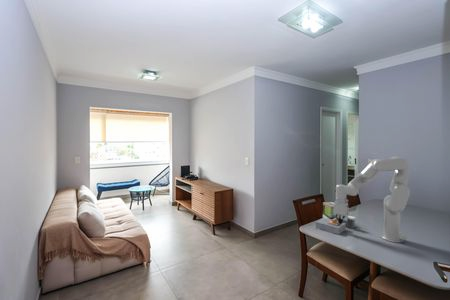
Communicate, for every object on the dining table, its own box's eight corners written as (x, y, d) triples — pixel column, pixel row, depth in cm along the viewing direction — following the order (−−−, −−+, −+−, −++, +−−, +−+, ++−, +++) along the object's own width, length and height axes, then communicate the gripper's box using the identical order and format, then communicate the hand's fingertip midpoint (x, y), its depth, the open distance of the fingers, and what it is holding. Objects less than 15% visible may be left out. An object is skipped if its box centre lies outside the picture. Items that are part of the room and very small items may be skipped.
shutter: (340, 223, 178) (340, 219, 178) (337, 225, 173) (337, 221, 173) (331, 220, 183) (331, 216, 183) (328, 223, 178) (328, 219, 178)
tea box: (341, 223, 191) (342, 206, 191) (330, 223, 191) (330, 206, 191) (333, 217, 207) (333, 201, 206) (322, 217, 206) (322, 201, 206)
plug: (354, 228, 181) (355, 217, 180) (353, 229, 178) (353, 218, 177) (348, 226, 184) (349, 215, 184) (346, 228, 181) (346, 217, 181)
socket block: (345, 229, 178) (345, 223, 178) (338, 234, 169) (338, 228, 169) (323, 223, 192) (323, 217, 191) (315, 227, 182) (315, 221, 182)
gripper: (353, 201, 170) (352, 224, 171) (333, 197, 182) (332, 219, 182) (349, 203, 165) (349, 227, 166) (329, 199, 176) (328, 222, 177)
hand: (340, 223), depth 174 cm, fingers closed
